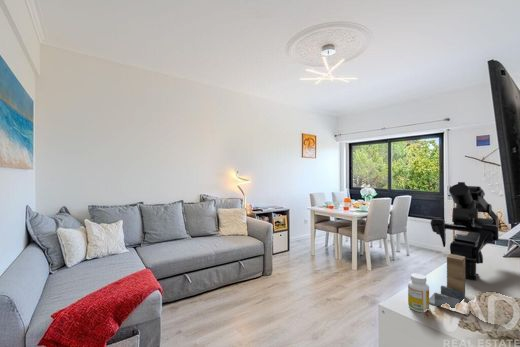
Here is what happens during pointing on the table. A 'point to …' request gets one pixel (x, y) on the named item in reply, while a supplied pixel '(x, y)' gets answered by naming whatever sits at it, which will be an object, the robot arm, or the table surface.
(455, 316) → the table surface
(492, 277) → the table surface
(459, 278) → the brown wooden block
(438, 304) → the clip
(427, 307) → the supplement bottle
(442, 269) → the table surface
